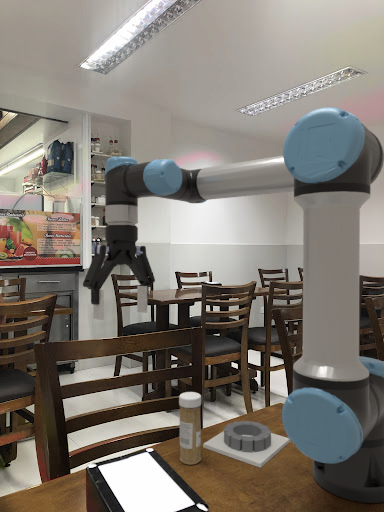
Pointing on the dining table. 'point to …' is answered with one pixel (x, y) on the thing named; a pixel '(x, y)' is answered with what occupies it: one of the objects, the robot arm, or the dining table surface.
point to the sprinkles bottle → (190, 428)
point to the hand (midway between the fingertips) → (121, 315)
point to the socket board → (248, 456)
